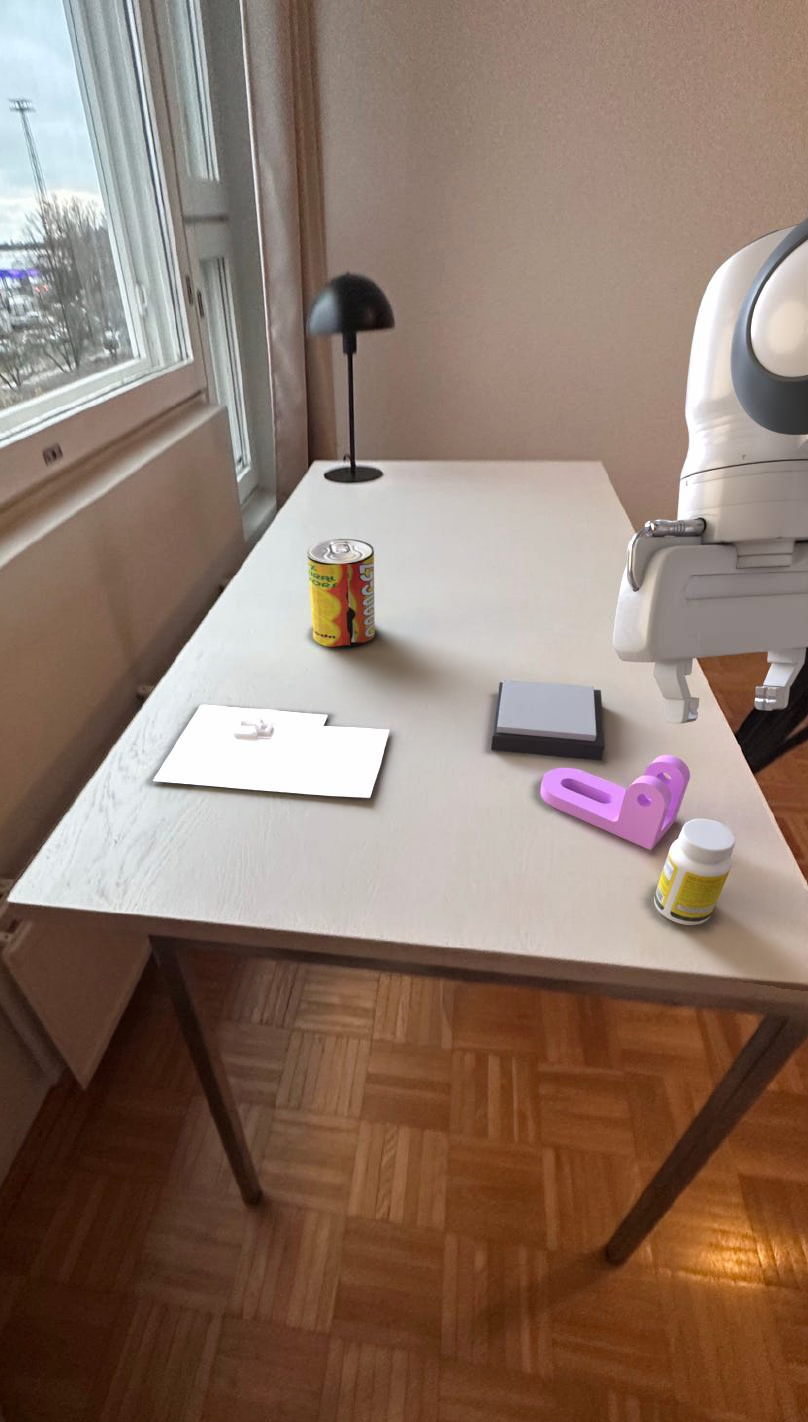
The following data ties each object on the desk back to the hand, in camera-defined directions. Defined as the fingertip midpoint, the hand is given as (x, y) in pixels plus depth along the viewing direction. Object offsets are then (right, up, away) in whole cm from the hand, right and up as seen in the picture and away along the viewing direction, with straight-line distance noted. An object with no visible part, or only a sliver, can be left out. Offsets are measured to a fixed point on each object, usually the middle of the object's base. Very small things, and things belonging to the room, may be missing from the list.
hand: (726, 715), depth 55 cm
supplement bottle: (+1, -16, +9) cm, 18 cm away
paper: (-37, +1, +29) cm, 47 cm away
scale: (-5, +3, +31) cm, 31 cm away
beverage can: (-29, +20, +51) cm, 62 cm away
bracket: (-3, -7, +19) cm, 20 cm away
